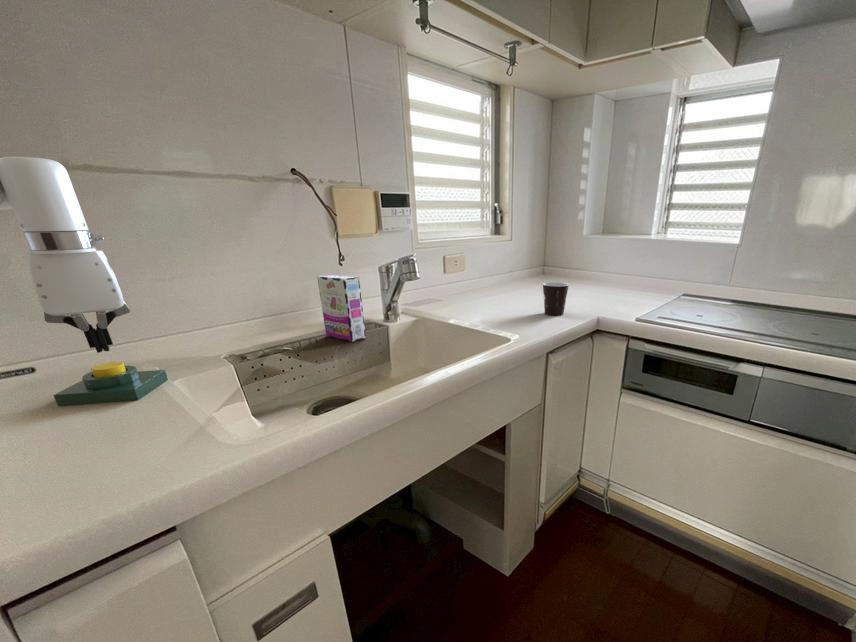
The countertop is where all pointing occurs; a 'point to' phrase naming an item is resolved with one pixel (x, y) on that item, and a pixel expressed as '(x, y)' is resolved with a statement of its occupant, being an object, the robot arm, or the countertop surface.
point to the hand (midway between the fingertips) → (103, 349)
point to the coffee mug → (555, 298)
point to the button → (108, 369)
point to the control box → (111, 387)
